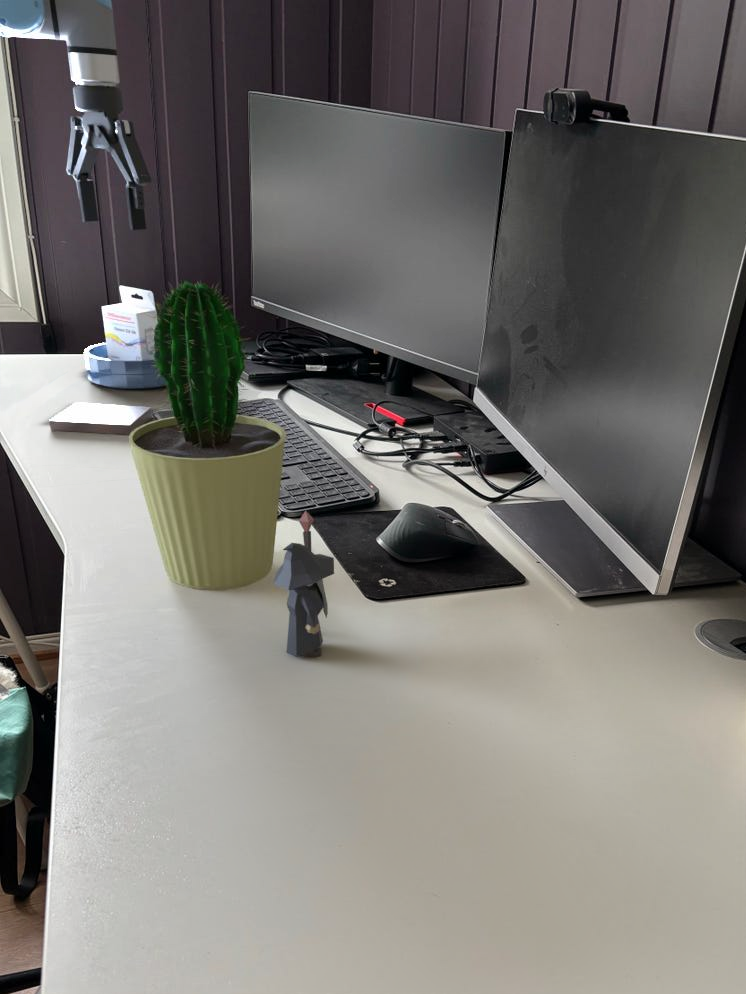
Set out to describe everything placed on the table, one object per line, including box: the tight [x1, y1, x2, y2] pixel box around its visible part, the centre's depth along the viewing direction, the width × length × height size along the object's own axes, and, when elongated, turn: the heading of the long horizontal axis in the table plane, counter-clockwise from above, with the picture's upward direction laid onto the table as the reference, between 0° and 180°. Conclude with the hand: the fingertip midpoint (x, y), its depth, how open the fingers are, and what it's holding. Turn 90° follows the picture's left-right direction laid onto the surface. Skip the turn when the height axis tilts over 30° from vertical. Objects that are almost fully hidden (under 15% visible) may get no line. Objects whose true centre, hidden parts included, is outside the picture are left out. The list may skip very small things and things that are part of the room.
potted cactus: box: [128, 279, 287, 591], centre depth 97 cm, size 15×15×30 cm
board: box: [48, 402, 154, 436], centre depth 146 cm, size 12×10×2 cm
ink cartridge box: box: [101, 285, 159, 361], centre depth 167 cm, size 9×5×15 cm, turn 62°
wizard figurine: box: [273, 510, 335, 658], centre depth 87 cm, size 8×6×12 cm
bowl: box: [83, 342, 166, 390], centre depth 169 cm, size 16×16×5 cm
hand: (113, 225), depth 167 cm, fingers open, 13 cm apart
